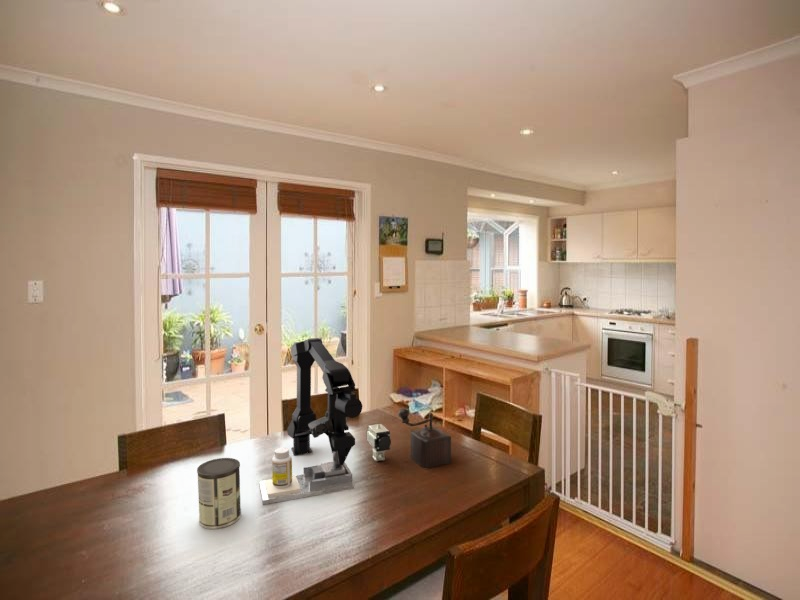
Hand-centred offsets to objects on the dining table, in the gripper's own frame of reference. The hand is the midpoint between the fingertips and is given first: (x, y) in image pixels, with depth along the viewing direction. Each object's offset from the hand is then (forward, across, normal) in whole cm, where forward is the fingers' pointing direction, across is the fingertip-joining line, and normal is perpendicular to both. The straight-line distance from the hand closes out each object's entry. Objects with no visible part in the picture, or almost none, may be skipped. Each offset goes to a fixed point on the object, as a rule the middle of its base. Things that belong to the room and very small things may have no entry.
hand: (337, 458), depth 139 cm
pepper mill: (+7, -4, +30) cm, 32 cm away
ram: (+6, 0, -3) cm, 6 cm away
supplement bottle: (+5, 0, -16) cm, 17 cm away
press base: (+7, 0, -10) cm, 12 cm away
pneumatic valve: (+7, -11, +16) cm, 21 cm away
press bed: (+6, 0, -17) cm, 18 cm away
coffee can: (+7, +9, -34) cm, 35 cm away
